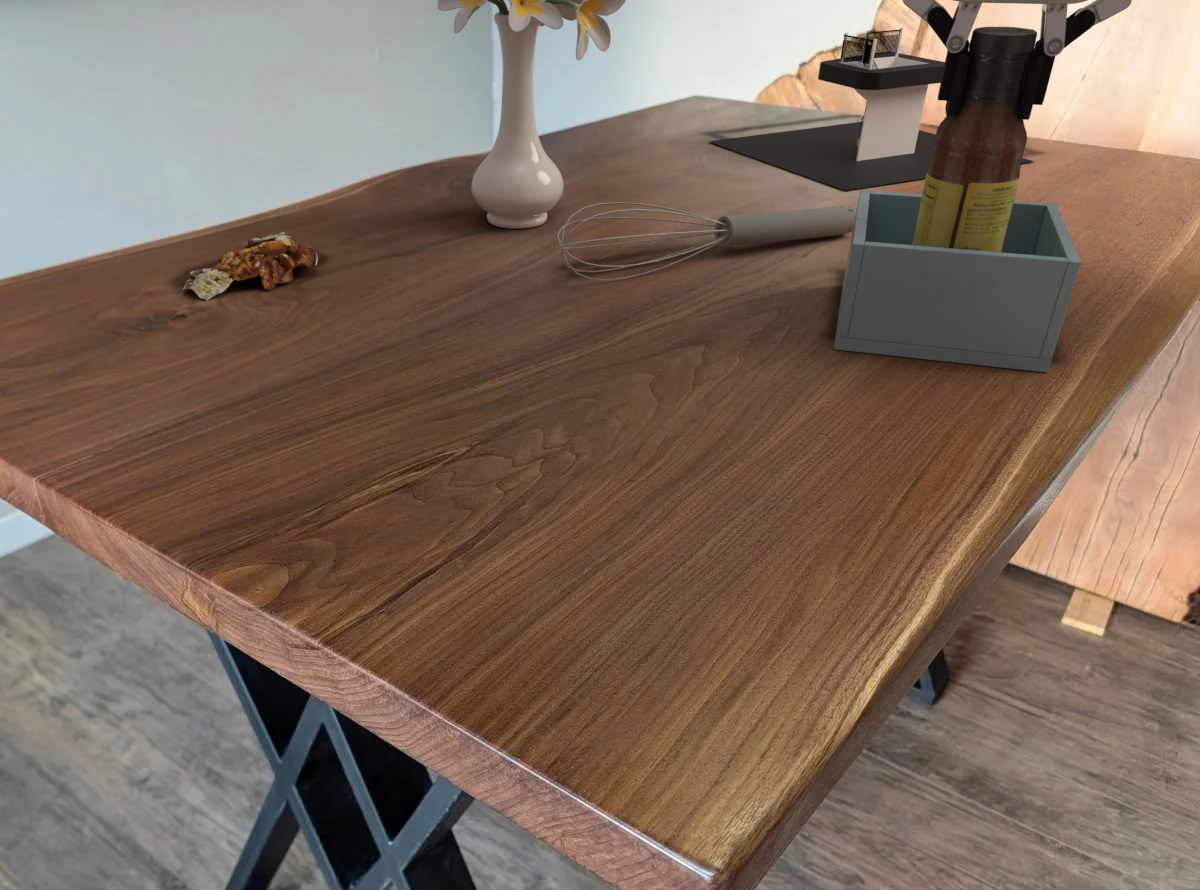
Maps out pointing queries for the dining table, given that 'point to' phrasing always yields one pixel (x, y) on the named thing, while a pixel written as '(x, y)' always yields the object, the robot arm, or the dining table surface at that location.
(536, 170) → the flower vase
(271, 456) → the dining table surface
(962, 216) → the sauce bottle
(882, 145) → the black-topped pedestal
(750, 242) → the kitchen whisk
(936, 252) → the open box
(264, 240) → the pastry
